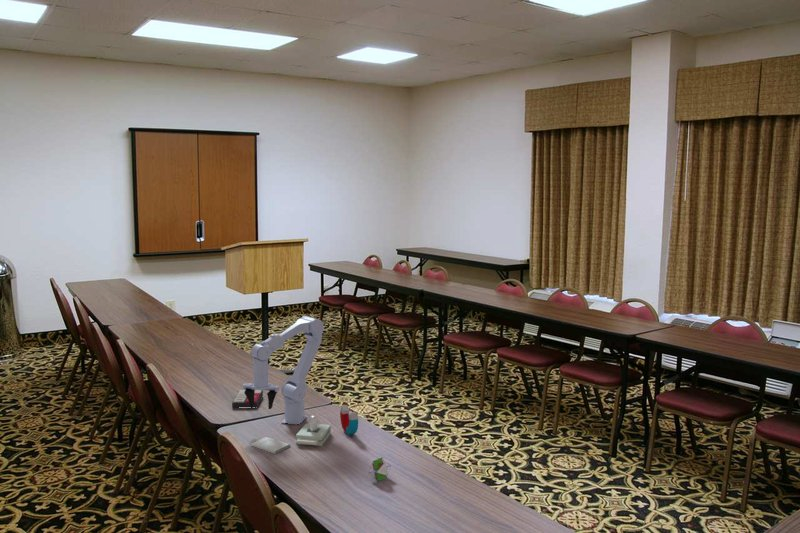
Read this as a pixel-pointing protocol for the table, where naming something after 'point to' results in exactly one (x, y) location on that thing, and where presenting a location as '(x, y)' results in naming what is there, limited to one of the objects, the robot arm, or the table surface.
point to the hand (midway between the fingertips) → (261, 407)
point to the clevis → (313, 435)
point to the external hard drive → (270, 445)
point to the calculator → (246, 399)
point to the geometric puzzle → (379, 469)
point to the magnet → (348, 420)
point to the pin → (313, 423)
